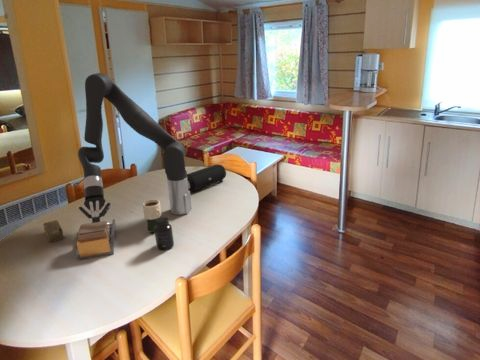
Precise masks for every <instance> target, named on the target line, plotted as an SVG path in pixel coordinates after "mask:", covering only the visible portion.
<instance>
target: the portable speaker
mask: <svg viewBox="0 0 480 360" xmlns="http://www.w3.org/2000/svg"><path fill="white" fill-rule="evenodd" d="M226 177H227V171H226V168H225V167H224V165H222V164H217V163H216V164H213V165H210V166H207V167H204V168H201V169H198V170H195V171H192V172H190V173H187V181H188V191H190V193H193V192H196V191H198V190H200V189H204V188H206V187H208V186H211V185H214V184H216V183H218V182H221V181H223V180H224V179H225V178H226Z"/></svg>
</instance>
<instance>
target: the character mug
mask: <svg viewBox="0 0 480 360" xmlns="http://www.w3.org/2000/svg"><path fill="white" fill-rule="evenodd" d="M142 209H143V215H144V219H146V220H147V223H146V224H147V225H146V229H147V231H148V233H155V232H154V228H155V226H156V219H158V218H160V217H162V211H161V202H160V200H158V199H154V198H153V199H152V198H151V199H148V200H145V201H144V202H143V203H142Z"/></svg>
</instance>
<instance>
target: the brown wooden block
mask: <svg viewBox="0 0 480 360" xmlns="http://www.w3.org/2000/svg"><path fill="white" fill-rule="evenodd" d="M107 223H108V221H106V220H103V221H100V222H95V223H92V222H91V223H83V224H80V226H79V229H78V233H77V239H78V242H79V241H85V240H91V239H97V238H104V237H108V238H109V236H110V234H109V229H108V224H107Z"/></svg>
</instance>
